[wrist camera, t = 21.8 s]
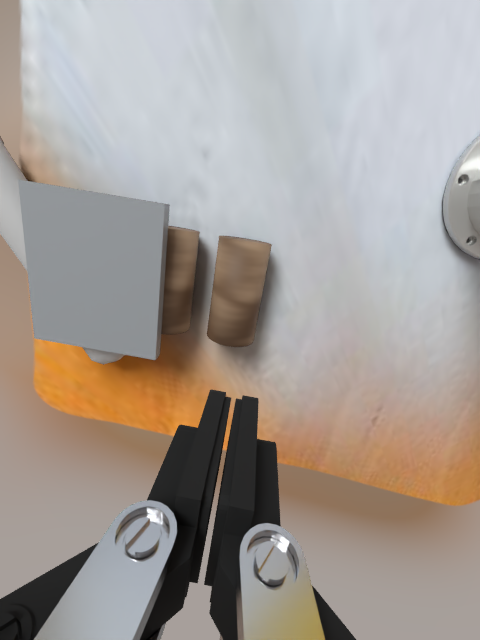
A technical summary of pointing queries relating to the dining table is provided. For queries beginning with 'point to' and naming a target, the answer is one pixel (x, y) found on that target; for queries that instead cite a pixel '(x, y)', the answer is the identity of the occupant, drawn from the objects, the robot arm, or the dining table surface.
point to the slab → (95, 268)
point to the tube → (6, 219)
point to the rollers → (215, 286)
